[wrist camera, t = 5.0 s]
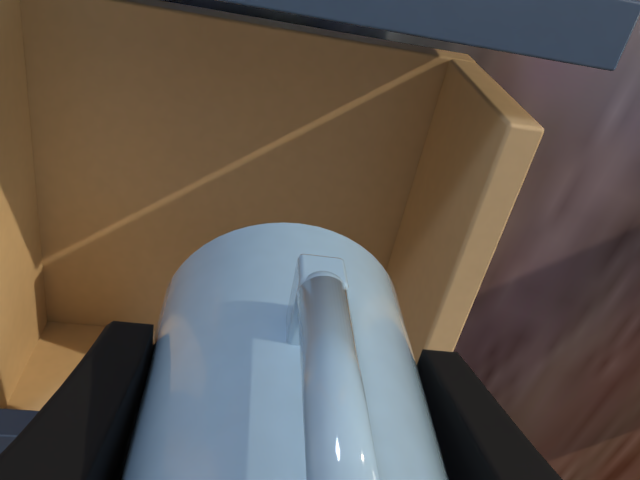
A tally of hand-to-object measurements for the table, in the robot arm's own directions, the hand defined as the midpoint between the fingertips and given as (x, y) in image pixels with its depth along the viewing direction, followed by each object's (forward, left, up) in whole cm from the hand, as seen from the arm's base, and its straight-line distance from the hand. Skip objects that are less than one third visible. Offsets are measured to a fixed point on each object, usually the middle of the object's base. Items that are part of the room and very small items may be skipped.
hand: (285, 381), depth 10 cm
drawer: (+1, +1, -9) cm, 9 cm away
